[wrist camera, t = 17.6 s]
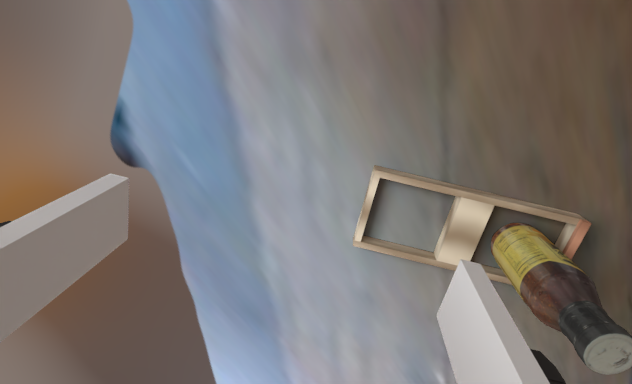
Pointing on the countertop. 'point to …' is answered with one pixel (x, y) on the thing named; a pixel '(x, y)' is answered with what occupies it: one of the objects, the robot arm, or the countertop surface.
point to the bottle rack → (463, 223)
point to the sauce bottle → (561, 297)
